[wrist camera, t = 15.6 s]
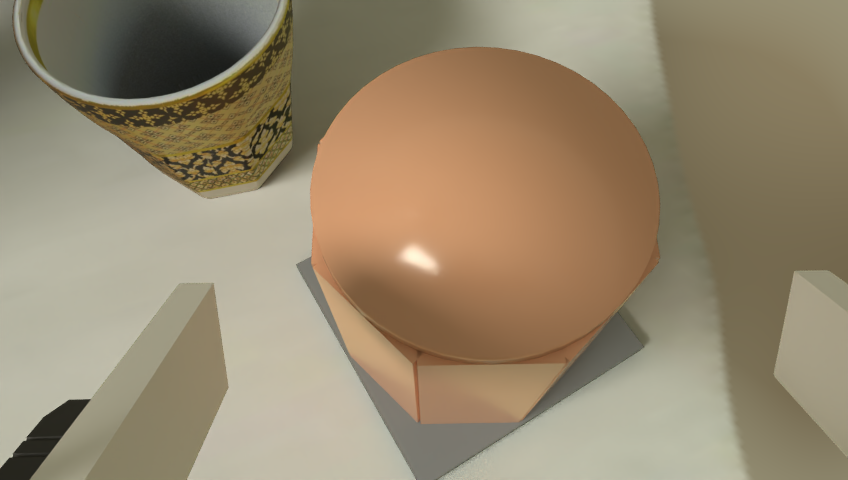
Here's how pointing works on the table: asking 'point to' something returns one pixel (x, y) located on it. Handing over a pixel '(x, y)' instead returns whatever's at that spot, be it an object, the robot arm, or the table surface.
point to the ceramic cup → (173, 80)
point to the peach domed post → (479, 228)
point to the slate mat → (456, 443)
